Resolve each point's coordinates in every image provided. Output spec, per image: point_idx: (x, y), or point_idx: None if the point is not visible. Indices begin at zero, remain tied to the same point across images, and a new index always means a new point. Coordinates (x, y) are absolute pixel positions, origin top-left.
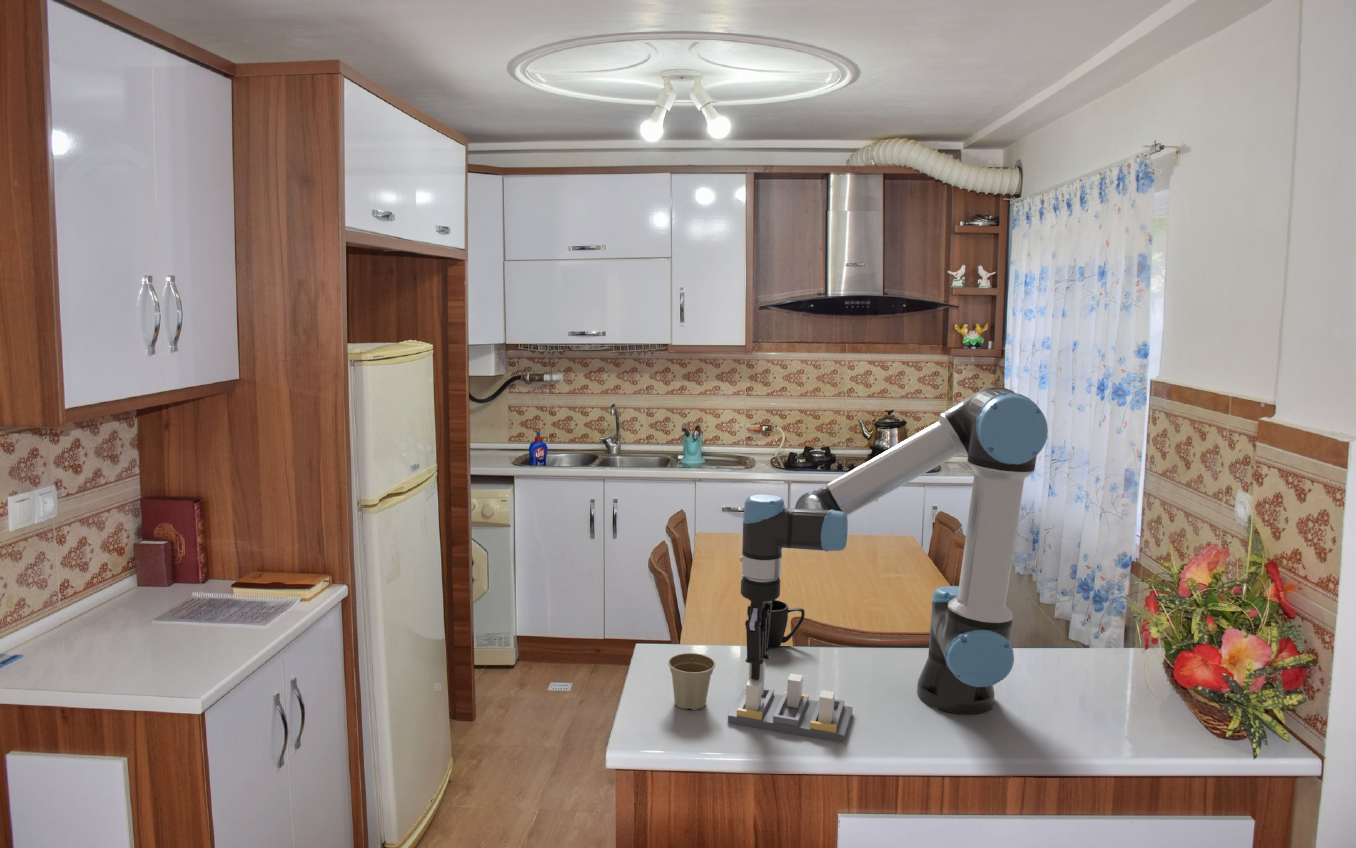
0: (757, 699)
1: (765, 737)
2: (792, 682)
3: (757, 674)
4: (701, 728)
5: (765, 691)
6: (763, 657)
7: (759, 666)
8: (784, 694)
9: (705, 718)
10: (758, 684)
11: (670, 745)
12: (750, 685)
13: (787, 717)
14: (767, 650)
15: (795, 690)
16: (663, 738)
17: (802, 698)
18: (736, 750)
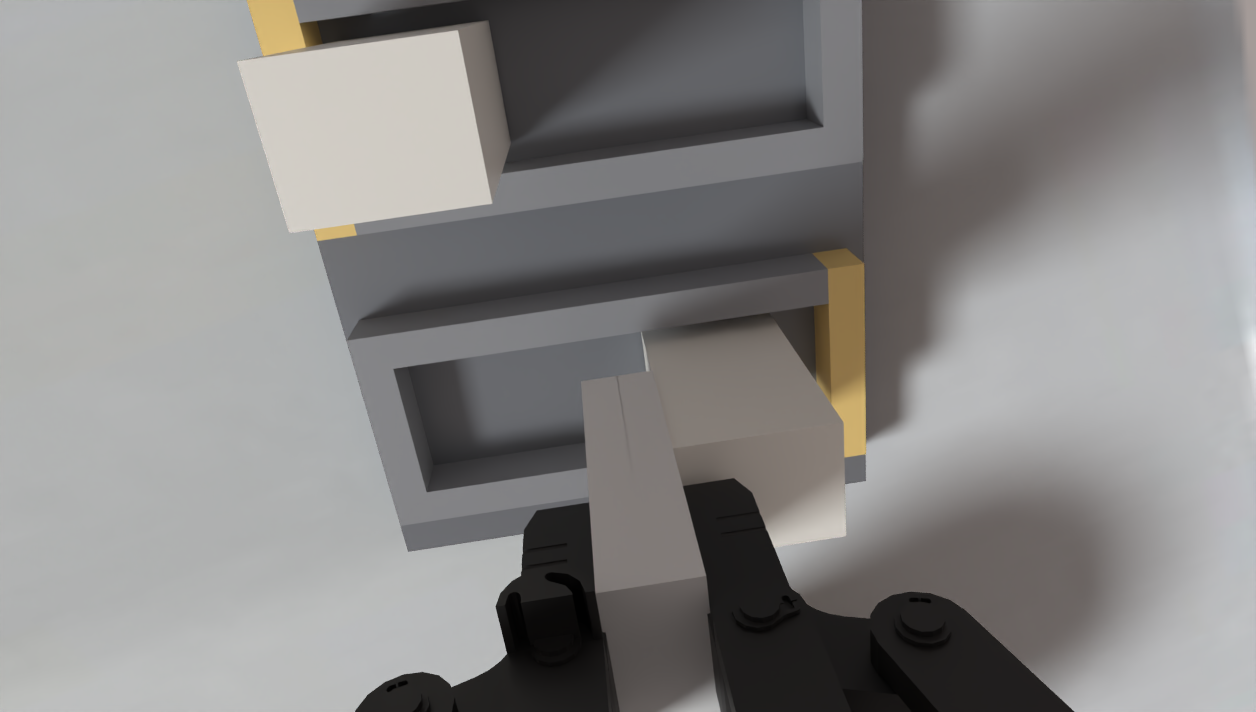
0: (804, 366)
1: (961, 145)
2: (480, 134)
3: (761, 527)
4: (975, 547)
5: (405, 392)
6: (602, 642)
7: (733, 581)
8: (389, 219)
9: (842, 579)
10: (788, 443)
11: (1217, 596)
12: (844, 499)
13: (843, 24)
14: (416, 690)
15: (482, 78)
16: (1149, 654)
17: (312, 38)
18: (1199, 260)
